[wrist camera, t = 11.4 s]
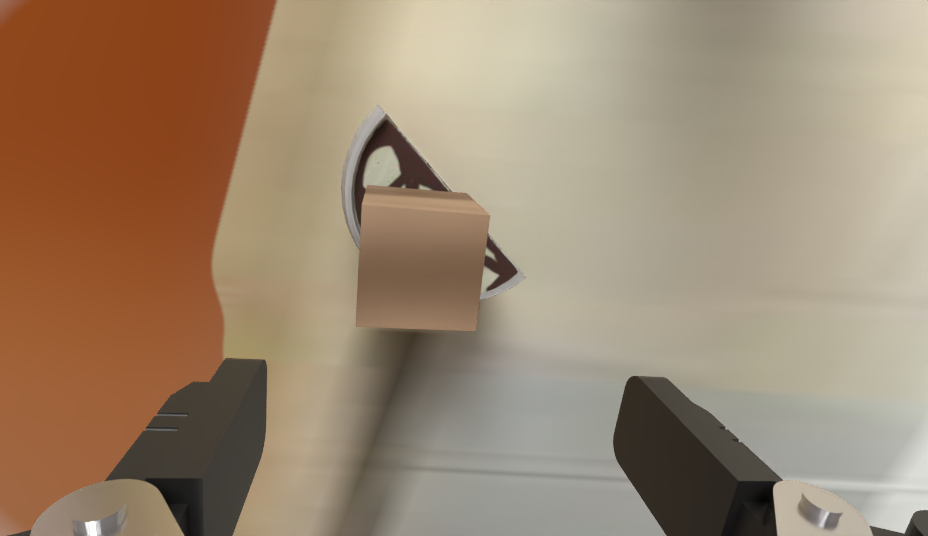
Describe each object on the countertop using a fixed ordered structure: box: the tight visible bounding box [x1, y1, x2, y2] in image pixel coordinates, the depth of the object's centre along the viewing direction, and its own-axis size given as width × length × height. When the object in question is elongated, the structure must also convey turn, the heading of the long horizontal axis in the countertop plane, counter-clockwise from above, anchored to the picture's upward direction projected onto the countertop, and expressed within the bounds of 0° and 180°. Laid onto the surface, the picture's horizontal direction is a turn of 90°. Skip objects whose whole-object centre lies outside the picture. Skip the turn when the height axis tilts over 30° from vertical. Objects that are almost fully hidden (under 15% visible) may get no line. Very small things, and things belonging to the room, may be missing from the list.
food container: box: [341, 105, 526, 300], centre depth 30 cm, size 12×6×10 cm, turn 40°
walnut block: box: [356, 185, 490, 331], centre depth 23 cm, size 5×5×6 cm
